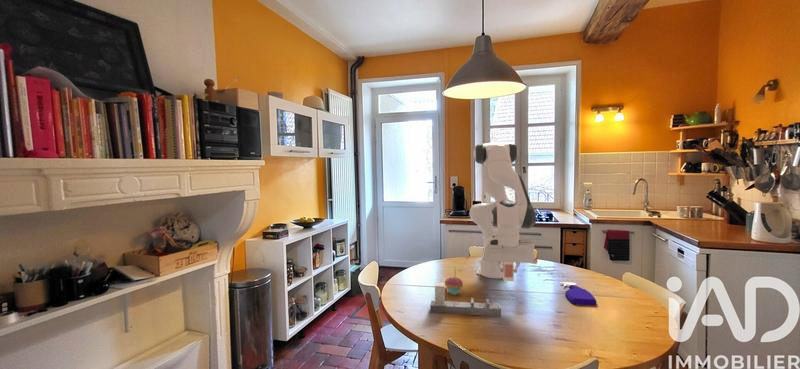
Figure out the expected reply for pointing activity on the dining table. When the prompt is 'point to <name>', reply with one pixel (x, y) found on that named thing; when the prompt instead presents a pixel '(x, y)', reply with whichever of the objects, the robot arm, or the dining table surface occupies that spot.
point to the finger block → (508, 271)
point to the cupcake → (453, 284)
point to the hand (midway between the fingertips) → (508, 272)
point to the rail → (461, 305)
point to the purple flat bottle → (578, 294)
